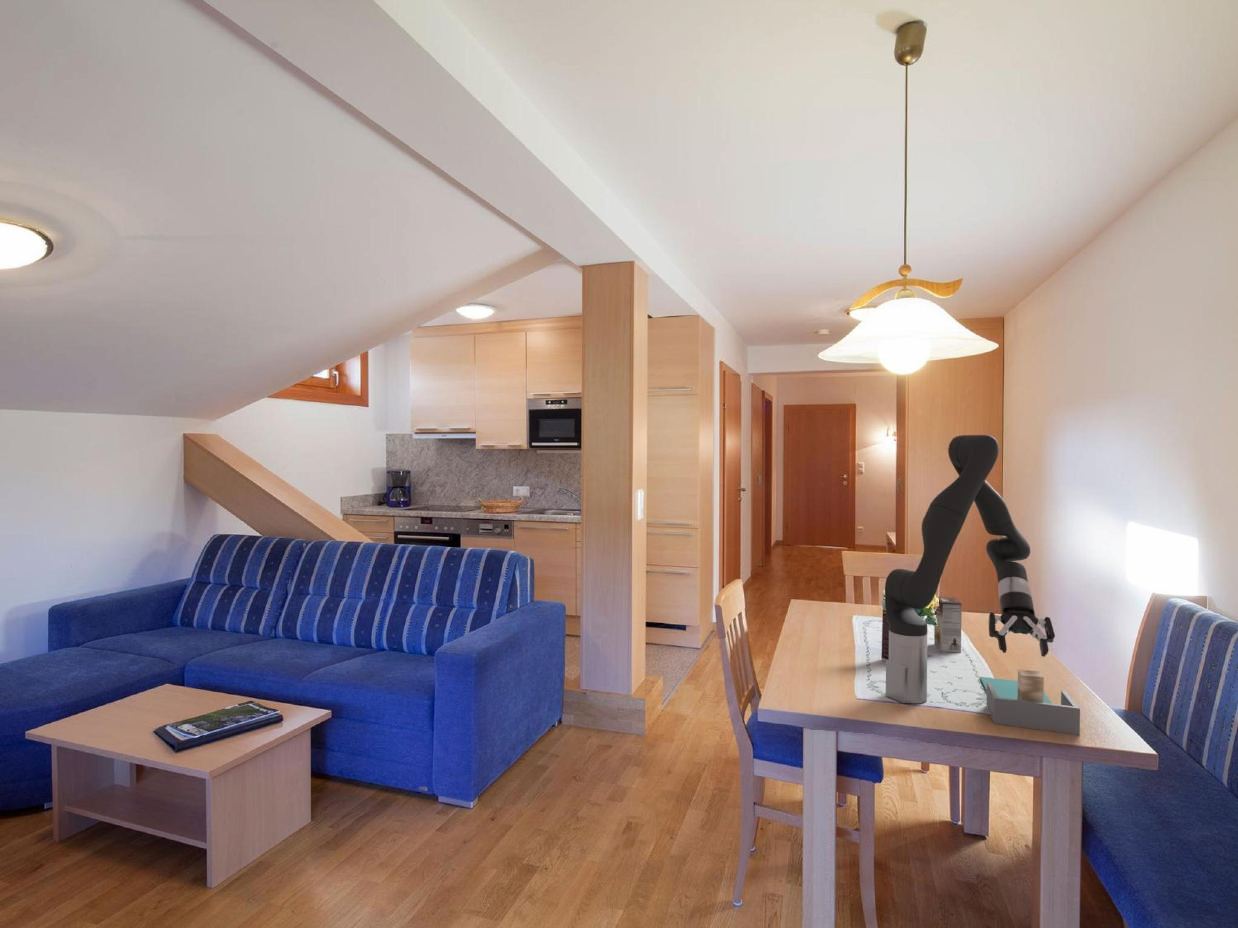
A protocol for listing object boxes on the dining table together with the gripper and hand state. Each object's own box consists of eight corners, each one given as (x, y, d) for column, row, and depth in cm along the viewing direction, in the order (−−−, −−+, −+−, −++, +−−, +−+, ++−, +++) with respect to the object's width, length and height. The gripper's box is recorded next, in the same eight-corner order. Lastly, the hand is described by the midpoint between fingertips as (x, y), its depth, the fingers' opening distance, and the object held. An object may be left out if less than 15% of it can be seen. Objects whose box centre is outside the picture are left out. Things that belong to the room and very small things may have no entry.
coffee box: (933, 643, 222) (933, 596, 222) (953, 644, 221) (954, 597, 220) (940, 651, 213) (941, 602, 213) (962, 652, 212) (962, 603, 211)
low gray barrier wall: (994, 723, 155) (994, 698, 155) (986, 705, 166) (986, 682, 166) (1079, 734, 149) (1080, 708, 149) (1065, 715, 160) (1065, 690, 160)
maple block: (1021, 708, 157) (1021, 674, 157) (1017, 701, 161) (1017, 669, 161) (1043, 710, 155) (1043, 677, 155) (1038, 704, 159) (1039, 671, 159)
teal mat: (990, 700, 170) (990, 698, 170) (980, 678, 187) (980, 676, 187) (1053, 708, 165) (1053, 705, 165) (1037, 685, 182) (1037, 682, 182)
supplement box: (891, 664, 199) (891, 612, 199) (880, 659, 204) (881, 608, 204) (915, 662, 201) (915, 610, 201) (904, 657, 206) (904, 607, 206)
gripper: (986, 588, 175) (993, 642, 165) (1049, 592, 170) (1060, 648, 160) (983, 604, 180) (990, 657, 170) (1044, 608, 175) (1054, 663, 165)
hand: (1024, 653), depth 165 cm, fingers open, 8 cm apart
